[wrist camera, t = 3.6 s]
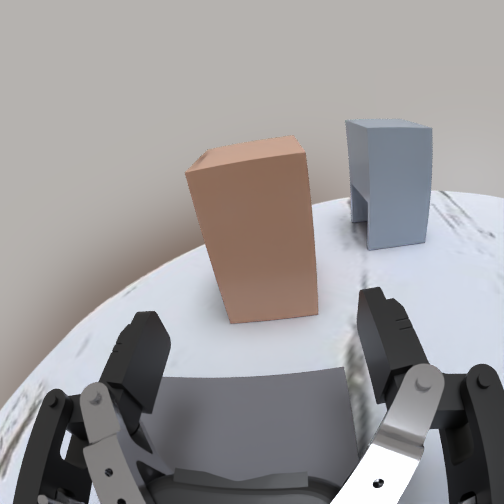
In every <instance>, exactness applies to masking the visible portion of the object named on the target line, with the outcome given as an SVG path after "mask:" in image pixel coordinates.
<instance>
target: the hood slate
mask: <svg viewBox="0 0 504 504" xmlns="http://www.w3.org/2000/svg"><path fill="white" fill-rule="evenodd" d="M345 122H346V133H347V143H348V156H349V169H350V188H351V221H352V223H354V222H362V221H368V234H367V249H368V250H375V249H383V248H390V247H397V246H404V245H411V244H417V243H424V242H425V238H426V232H427V224H428V216H429V206H430V195H431V178H432V128H430V127H427V126H424V125H420V124H417V123H414V122H410V121H406V120H402V119H359V120H345Z"/></svg>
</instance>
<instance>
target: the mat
mask: <svg viewBox="0 0 504 504" xmlns="http://www.w3.org/2000/svg"><path fill="white" fill-rule="evenodd" d="M140 419H141V420H142V422H143V424H144V426H145V428H146V430H147V433H148V435H149V437H150V439H151V441H152V443H153V445H154V447H155V449H156V451H157V453H158V455H159V456H160V458H161V459H162V460H163V461H164V462H165V463H166V464H167V466H168V467H169V468H170V470H171V471H172V473H173V474H174V472H175V468H180V469H187V470H195V471H205V472H208V473H211V474H214V475H217V476H220V477H223V478H227V479H230V480H234V481H243V480H248V479H253V478H257V477H262V476H266V475H270V474H280V473H296V472H307V471H308V476H312V477H318V478H322V479H326V480H329V481H331V482H333V483H335V484H338V485H339V486H342V484H343V483H344V481H345V480H346V479H347V477H348V476H349V474H350V473H351V471H352V470H353V468H354V467H355V465H356V464H357V462H358V461H359V457H358V450H357V442H356V435H355V428H354V422H353V416H352V410H351V404H350V398H349V392H348V387H347V381H346V376H345V371H344V367H339V368H332V369H325V370H318V371H310V372H302V373H292V374H282V375H270V376H255V377H231V378H181V377H162V379H161V383H160V386H159V390H158V393H157V397H156V401H155V404H154V408H153V412H152V414H146V413H141V417H140Z"/></svg>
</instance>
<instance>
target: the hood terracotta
mask: <svg viewBox="0 0 504 504" xmlns="http://www.w3.org/2000/svg"><path fill="white" fill-rule="evenodd" d="M185 175H186V178H187V182H188V186H189V189H190V193H191V197H192V200H193V204H194V207H195V211H196V214H197V217H198V221H199V225H200V228H201V231H202V235H203V238H204V241H205V245H206V248H207V251H208V255H209V258H210V261H211V264H212V267H213V271H214V274H215V277H216V280H217V283H218V286H219V289H220V292H221V296H222V299H223V302H224V305H225V308H226V311H227V314H228V317H229V320H230V323H231V324H232V323H244V322H255V321H266V320H276V319H285V318H294V317H302V316H310V315H317V314H318V294H317V273H316V256H315V241H314V228H313V217H312V206H311V196H310V187H309V177H308V168H307V160H306V153H305V151H304V149H303V148H302V147H301V145H300V144H299V142H298V141H297V140H296V138H295V137H294V135H292V136H284V137H276V138H269V139H262V140H256V141H251V142H244V143H239V144H233V145H228V146H223V147H218V148H213V149H209V150H207V151H206V152H205V153H204V154H203V155H202V156H201V157H200V158H199V159H198V160H197V161H196V162H195V163H194V164H193V165H192V166H191V167H190V168H189V169H188V170H187V171H186V172H185Z"/></svg>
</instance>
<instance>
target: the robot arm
mask: <svg viewBox="0 0 504 504" xmlns="http://www.w3.org/2000/svg"><path fill="white" fill-rule="evenodd" d="M408 318H409V317H408V315H407V313H406V311H405V309H404V307H403V306H402V305H401V304H400V303H399V302H398V301H396V300H395V299H394V298H392V299H387V300H386V298H385V296H384V294H383V292H382V290H381V288H380V287H375V288H369V289H363V290H360V292H359V302H358V312H357V329H358V334H359V337H360V341H361V344H362V348H363V351H364V355H365V359H366V362H367V366H368V370H369V374H370V378H371V382H372V386H373V390H374V394H375V399H376V403H377V404H381V403H386V407H387V412H386V414H385V416H384V418H383V420H382V422H381V424H380V426H379V428H378V429H377V431H376V433H375V435H374V437H373V438H372V440H371V442H370V443H369V445H368V447H367V448H366V450H365V452H364V453H363V455H362V456H361V458H360V459H359V461H358V462H357V464H356V465H355V467H354V468H353V470H352V471H351V473H350V474H349V476H348V477H347V479H346V480H345V481H344V483H343V484H342V486H339V485H338V484H335V483H333V482H331V481H329V480H326V479H322V478H318V477H312V476H308V471H307V472H296V473H280V474H270V475H266V476H262V477H257V478H253V479H248V480H243V481H234V480H230V479H227V478H223V477H220V476H217V475H214V474H211V473H208V472H205V471H195V470H187V469H180V468H175V472H174V474H173V473H172V471H171V470H170V468H169V467H168V466H167V464H166V463H165V462H164V461H163V460H162V459H161V458H160V456H159V455H158V453H157V451H156V449H155V447H154V445H153V443H152V441H151V439H150V437H149V435H148V433H147V430H146V428H145V426H144V424H143V422H142V420H141V419H140V417H141V413H146V414H152V412H153V408H154V404H155V401H156V397H157V393H158V390H159V386H160V383H161V379H162V376H163V372H164V369H165V365H166V362H167V359H168V355H169V352H170V348H171V341H170V337H169V334H168V333H167V331H166V329H165V327H164V325H163V324H162V322H161V320H160V318H159V316H158V314H157V313H156V312H155V311H145V312H137V313H136V314H135V316H134V318H133V320H132V322H131V324H128V325H127V326H126V327H125V329H124V330H123V331H122V332H121V333H120V335H119V337H118V339H117V341H116V345H115V346H114V348H113V350H112V351H113V352H112V353H111V355H110V357H109V359H108V361H107V364H106V366H105V368H104V370H103V373H102V375H101V378H100V380H99V382H95V383H92V384H90V385H88V386H87V387H86V388H85V389H84V390H83V392H82V393H81V394H79V395H72V396H67V395H66V394H65V393H64V392H63V391H62V390H60V389H53V390H51V391H50V392H48V393H47V395H46V396H45V398H44V400H43V402H42V405H41V407H40V410H39V412H38V415H37V418H36V421H35V423H34V426H33V429H32V432H31V435H30V438H29V441H28V444H27V447H26V451H25V454H24V458H23V461H22V465H21V469H20V473H19V477H18V481H17V486H16V490H15V495H14V501H13V504H88V502H89V496H90V491H91V485H92V482H93V485H94V488H95V490H96V493H97V496H98V498H99V501H100V503H101V504H396V503H397V501H398V500H399V498H400V496H401V495H402V493H403V491H404V489H405V488H406V486H407V484H408V482H409V481H410V479H411V477H412V475H413V473H414V471H415V469H416V467H417V465H418V463H419V461H420V459H421V457H422V454H423V451H424V446H423V443H424V440H425V438H426V435H427V433H428V431H429V429H439V433H440V438H441V443H442V448H443V454H444V461H445V467H446V475H447V483H448V493H449V504H504V389H503V387H502V384H501V381H500V379H499V376H498V374H497V372H496V371H495V370H494V369H493V368H492V367H491V366H489V365H486V364H478V365H475V366H473V367H472V368H471V369H470V370H469V372H468V373H467V374H445V373H442V372H441V371H440V370H439V369H438V368H437V367H435V366H433V365H430V363H429V362H428V360H427V358H426V355H425V353H424V351H423V348H422V346H421V344H420V341H419V339H418V337H417V335H416V332H415V330H414V328H413V326H412V324H411V322H410V319H408ZM66 430H67V431H69V432H70V433H71V434H72V436H71V440H70V443H69V447H68V450H67V454H66V458H65V460H63V459H62V457H61V455H60V448H61V445H62V441H63V438H64V435H65V431H66Z"/></svg>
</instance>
